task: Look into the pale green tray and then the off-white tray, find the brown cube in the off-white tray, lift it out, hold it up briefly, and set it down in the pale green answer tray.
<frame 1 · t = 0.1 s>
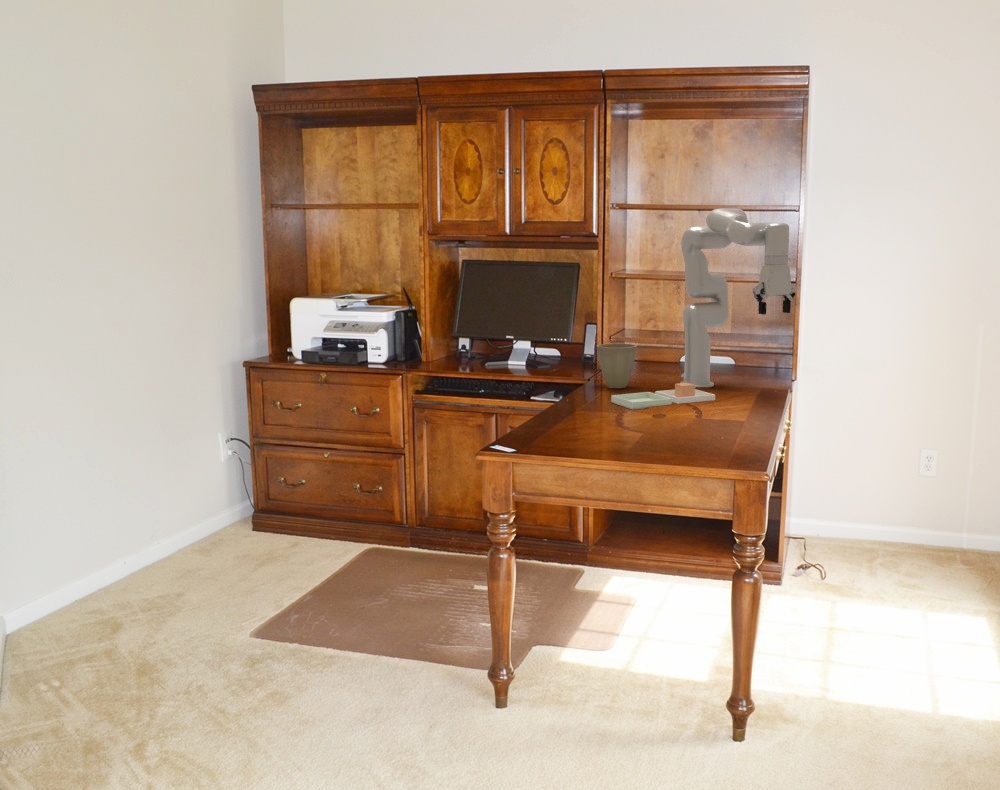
hand: (774, 313, 315), 31 cm above the table, fingers open, 9 cm apart
white tray: (684, 400, 334), on the table
green tray: (641, 404, 327), on the table
brown cube: (684, 398, 334), point 1 cm above the table, touching white tray
plant pot: (616, 387, 363), on the table
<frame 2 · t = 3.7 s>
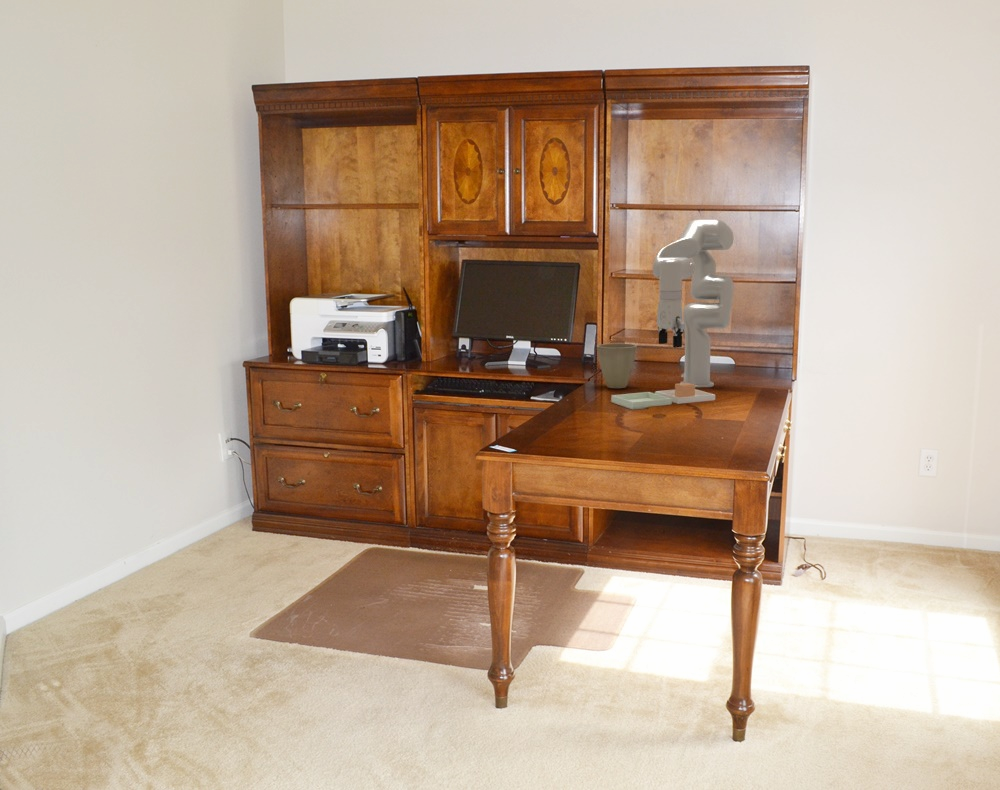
hand: (670, 345, 328), 20 cm above the table, fingers open, 9 cm apart
nothing on the table moved.
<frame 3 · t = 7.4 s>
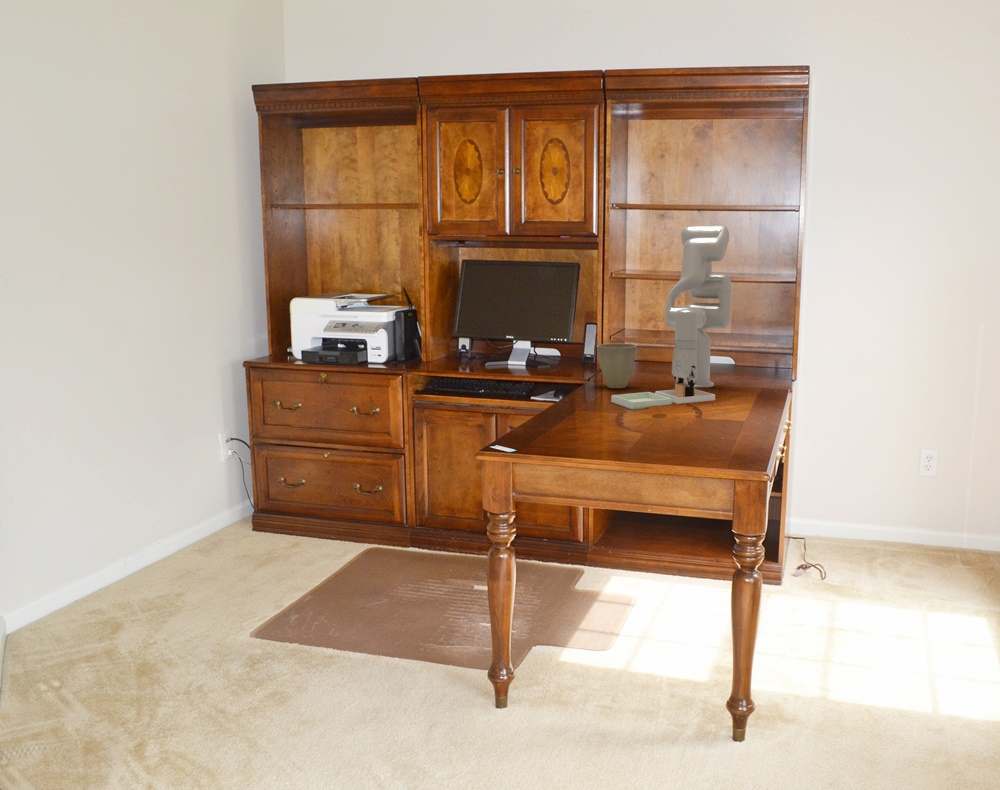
hand: (684, 396, 333), 1 cm above the table, fingers closed on brown cube, 4 cm apart
brown cube: (684, 398, 334), point 1 cm above the table, touching gripper, white tray
everything else where it was.
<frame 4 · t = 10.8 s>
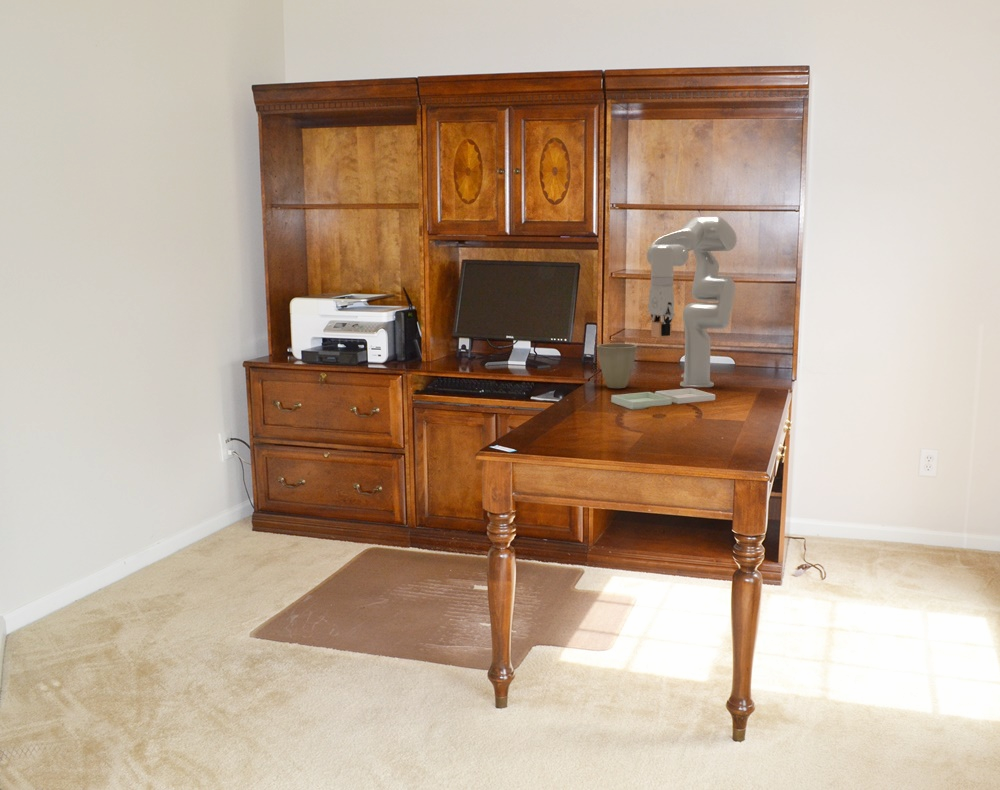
hand: (661, 334, 329), 23 cm above the table, fingers closed on brown cube, 4 cm apart
brown cube: (661, 336, 330), point 22 cm above the table, touching gripper
everything else where it was.
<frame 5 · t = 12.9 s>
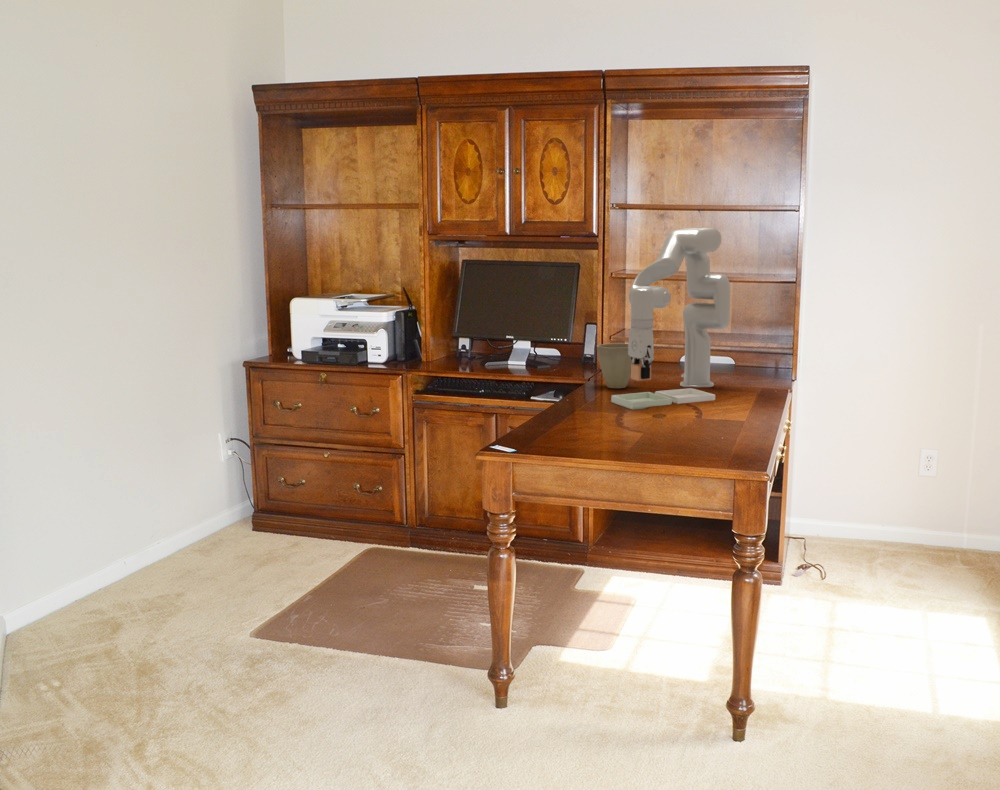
hand: (641, 377, 326), 9 cm above the table, fingers closed on brown cube, 4 cm apart
brown cube: (640, 379, 326), point 9 cm above the table, touching gripper
everything else where it was.
when the fingers open (3 cm above the table, at t = 14.4 s): brown cube drops 1 cm, resting on green tray.
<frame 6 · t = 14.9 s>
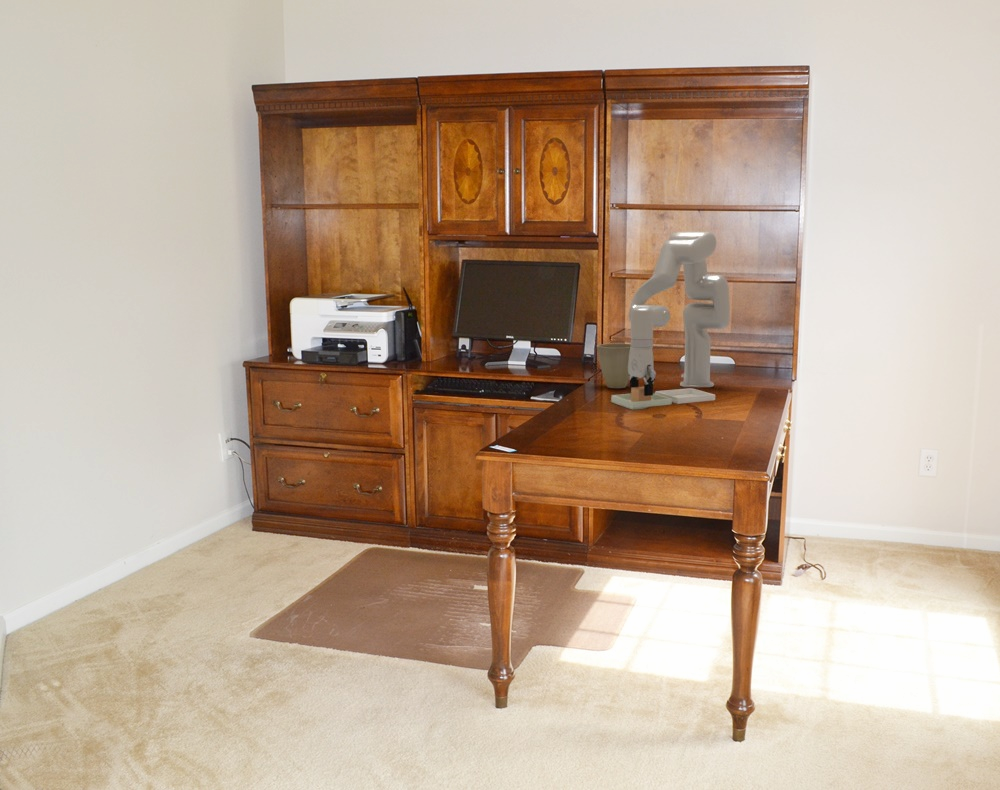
hand: (641, 393, 327), 4 cm above the table, fingers open, 9 cm apart
brown cube: (641, 402, 327), point 1 cm above the table, touching green tray
everything else where it was.
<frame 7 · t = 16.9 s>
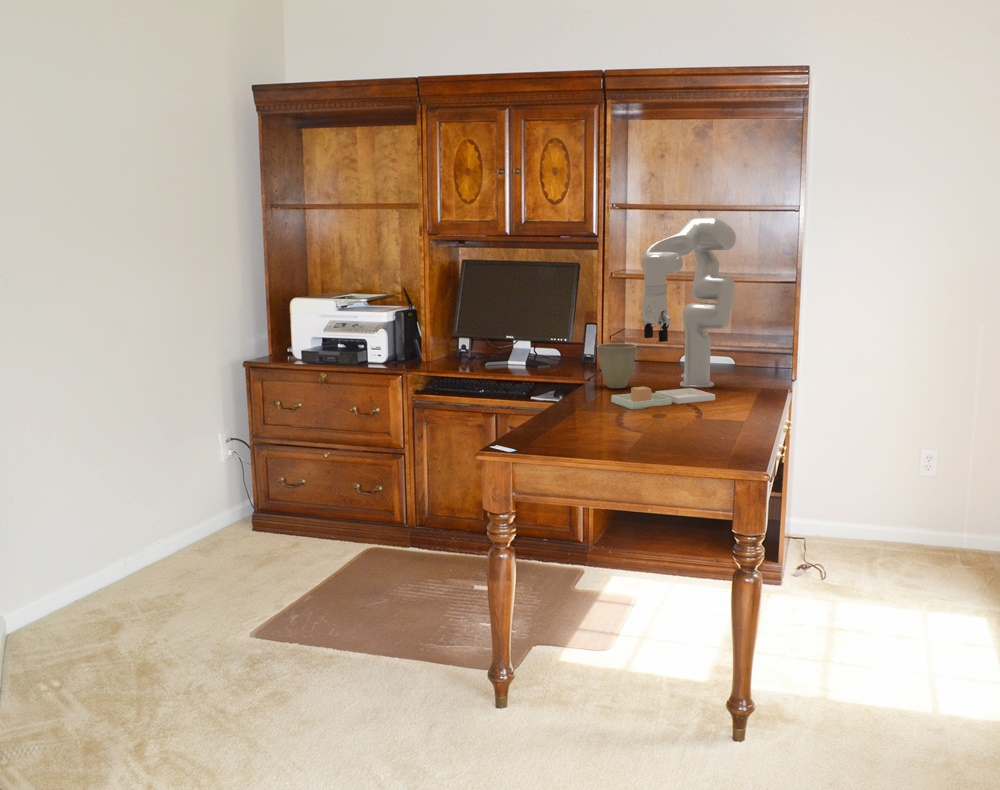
hand: (655, 339, 331), 21 cm above the table, fingers open, 9 cm apart
nothing on the table moved.
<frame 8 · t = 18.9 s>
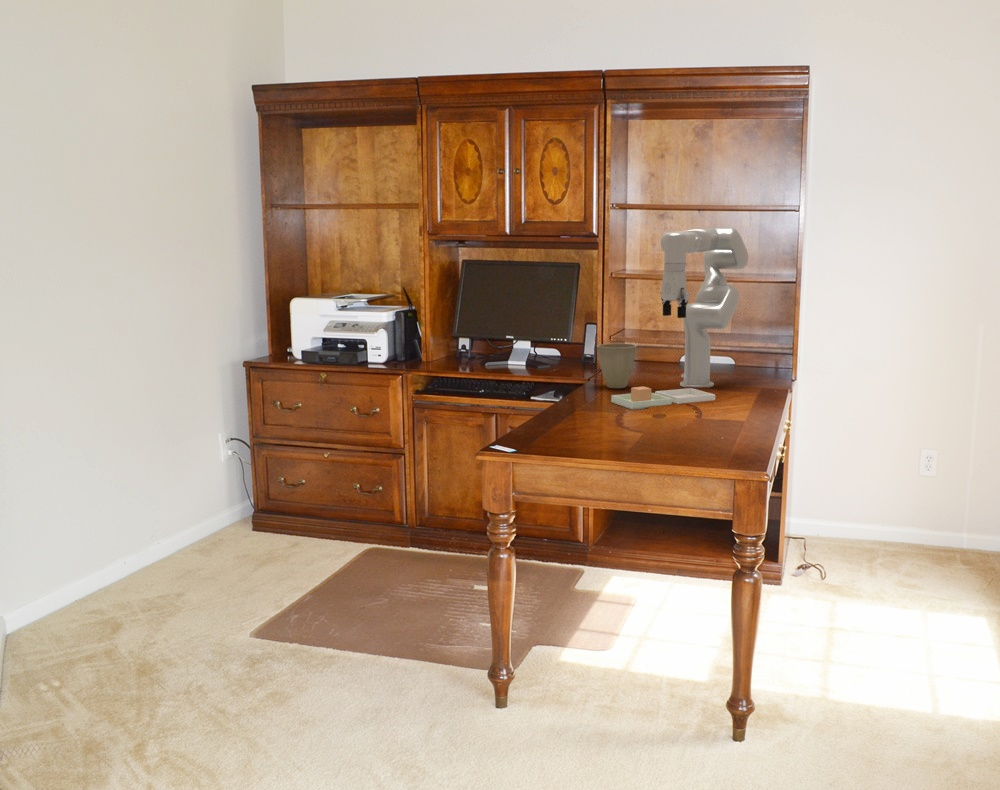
hand: (674, 316, 340), 28 cm above the table, fingers open, 9 cm apart
nothing on the table moved.
at the end: brown cube inside the target area on the green tray (0.0 cm from its centre), point 0.6 cm above the green tray's base; the gripper is holding nothing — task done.
